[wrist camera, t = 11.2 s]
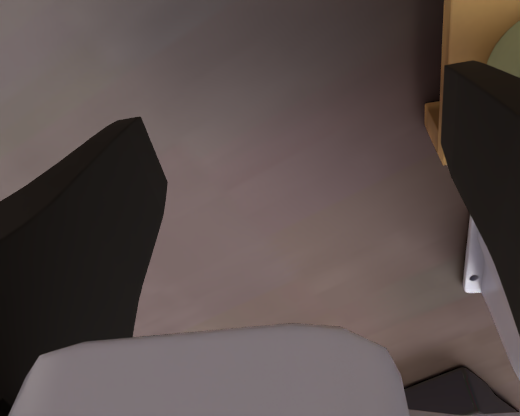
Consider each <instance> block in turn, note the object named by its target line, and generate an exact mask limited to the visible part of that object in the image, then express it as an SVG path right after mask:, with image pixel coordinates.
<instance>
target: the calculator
mask: <svg viewBox="0 0 520 416" xmlns="http://www.w3.org/2000/svg"><path fill="white" fill-rule="evenodd" d="M404 391H405V396H406V401H407V406H408V409H409V410H418V411H427V412H435V413H444V414H453V415H477V414H495V413H513V412H517V411H515V410H514V409H513V408H511V407H510V406H509V405H507V404H506V403H505V402H503V401H502V400H501V399H499V398H498V397H497V396H495V394H494V393H493V392H492V390H491V389H490V388H489V386H488V385H487V384H486V383H485V382H484V381H482V380H481V379H480V378H478V377H477V376H476V375H474V374H473V373H472V372H470V371H469V370H468V369H466V368H458V369H455V370H453V371H450V372H447V373H445V374H442V375H440V376H437V377H435V378H432V379H429V380H427V381H424V382H422V383H419V384H416V385H414V386H411V387H409V388H406V389H404Z"/></svg>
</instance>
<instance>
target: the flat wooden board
mask: <svg viewBox="0 0 520 416" xmlns="http://www.w3.org/2000/svg"><path fill="white" fill-rule="evenodd" d="M519 20H520V0H444V12H443V36H442V59H441V82H440V101H438V102H431V103H426V104H425V122H424V125H425V127H426V129H427V132H428V134H429V136H430V138H431V141H432V143H433V145H434V147H435V150H436V152H437V153H438V156H439V158H440V160H441V162H442V164H443V165H444V166H445V165H447V162H446V159H445V156H444V153H443V149H442V146H441V124H442V103H443V82H444V65H448V64H454V63H460V62H466V61H472V60H474V61H478V62H481V63H484V64H487V61H488V59H489V56H490V54H491V52H492V50H493V49H494V47H495V45H496V44H497V43H498V41H499V40H500V39H501V37H502V36H503V35H504V34H505V33H506V32H507V31H508V30H509V29H510V28H511V27H512V26H513V25H514V24H515V23H517V22H518V21H519Z"/></svg>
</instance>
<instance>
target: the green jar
mask: <svg viewBox="0 0 520 416" xmlns="http://www.w3.org/2000/svg"><path fill="white" fill-rule="evenodd" d="M487 65H490V66H492V67H495V68H497V69H500V70H502V71H505V72H507V73H509V74H512V75H514V76H517V77H519V78H520V20H519V21H518V22H517V23H515V24H514V25H513V26H512V27H511V28H510V29H509V30H508V31H507V32H506V33H505V34H504V35H503V36H502V37H501V39H500V40H499V41H498V43H497V44H496V45H495V47H494V49H493V50H492V52H491V54H490V56H489V59H488V61H487Z"/></svg>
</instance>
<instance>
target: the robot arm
mask: <svg viewBox="0 0 520 416" xmlns="http://www.w3.org/2000/svg"><path fill="white" fill-rule="evenodd" d="M441 146H442V149H443V153H444V156H445V159H446V162H447V165H448V168H449V171H450V174H451V177H452V179H453V181H454V183H455V185H456V187H457V189H458V191H459V193H460V195H461V197H462V199H463V201H464V203H465V205H466V207H467V209H468V211H469V213H470V219H469V229H468V238H467V248H466V257H465V267H464V276H463V288H464V291H465V292H467V293H479V292H482V294H483V297H484V299H485V302H486V304H487V307H488V309H489V311H490V314H491V316H492V319H493V321H494V324H495V326H496V329H497V331H498V333H499V336H500V338H501V341H502V343H503V346H504V348H505V351H506V353H507V355H508V358H509V360H510V363H511V365H512V368H513V370H514V372H515V373H516V375H517V377H518V378H519V380H520V78H519V77H517V76H514V75H512V74H509V73H507V72H505V71H502V70H500V69H497V68H495V67H492V66H490V65H487V64H484V63H481V62H478V61H474V60H472V61H466V62H460V63H454V64H448V65H444V82H443V103H442V124H441ZM167 183H168V182H167V180H166V177H165V175H164V172H163V170H162V167H161V165H160V163H159V160H158V158H157V155H156V153H155V150H154V148H153V146H152V143H151V141H150V138H149V136H148V133H147V131H146V128H145V126H144V124H143V121H142V119H141V117H135V118H129V119H123V120H118V121H116V122H114V123H112V124H110V125H109V126H107V127H105V128H104V129H103V130H101V131H100V132H98V133H97V134H96V135H94V136H93V137H91V138H90V139H89V140H87V141H86V142H85V143H84V144H82V145H81V146H80V147H78V148H77V149H76V150H74V151H73V152H72V153H70V154H69V155H68V156H66V157H65V158H64V159H63V160H61V161H60V162H59V163H57V164H56V165H54V166H53V167H51V168H50V169H49V170H47V171H46V172H44V173H43V174H42V175H40V176H39V177H37V178H36V179H35V180H33V181H32V182H30V183H29V184H28V185H26V186H24V187H23V188H21V189H20V190H18V191H17V192H15V193H14V194H12V195H10V196H9V197H7V198H5V199H4V200H2V201H0V416H520V410H519V412H513V413H495V414H477V415H453V414H444V413H435V412H427V411H418V410H409V409H408V406H407V401H406V396H405V391H404V386H403V382H402V377H401V374H400V372H399V370H398V368H397V366H396V365H395V363H394V361H393V359H392V357H391V356H390V354H389V352H388V350H387V349H386V348H385V347H383V346H381V345H379V344H377V343H375V342H373V341H370V340H368V339H366V338H364V337H362V336H360V335H357V334H355V333H353V332H351V331H349V330H347V329H344V328H342V327H340V326H327V325H313V324H299V323H287V324H276V325H265V326H253V327H242V328H231V329H220V330H209V331H198V332H186V333H175V334H164V335H153V336H142V337H133V330H134V325H135V319H136V313H137V307H138V302H139V297H140V293H141V289H142V285H143V282H144V279H145V275H146V272H147V269H148V265H149V262H150V259H151V255H152V252H153V249H154V246H155V242H156V239H157V236H158V232H159V229H160V225H161V222H162V218H163V214H164V208H165V201H166V192H167ZM472 275H473V276H472Z"/></svg>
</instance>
